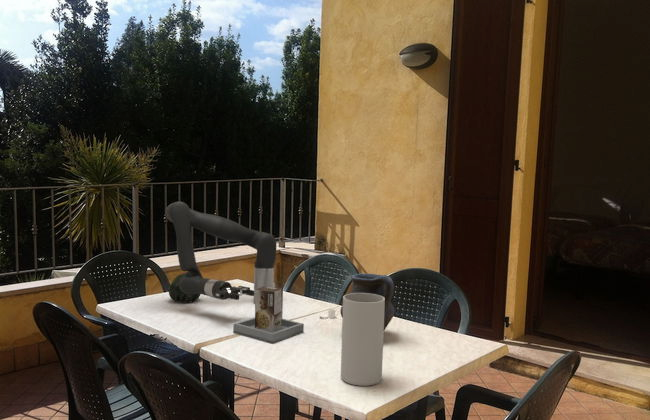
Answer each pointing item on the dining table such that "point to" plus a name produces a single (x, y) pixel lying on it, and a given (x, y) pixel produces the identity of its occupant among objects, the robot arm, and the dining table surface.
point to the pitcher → (375, 291)
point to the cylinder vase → (362, 338)
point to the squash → (176, 291)
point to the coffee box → (268, 309)
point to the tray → (250, 331)
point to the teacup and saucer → (330, 314)
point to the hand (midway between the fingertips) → (246, 295)
